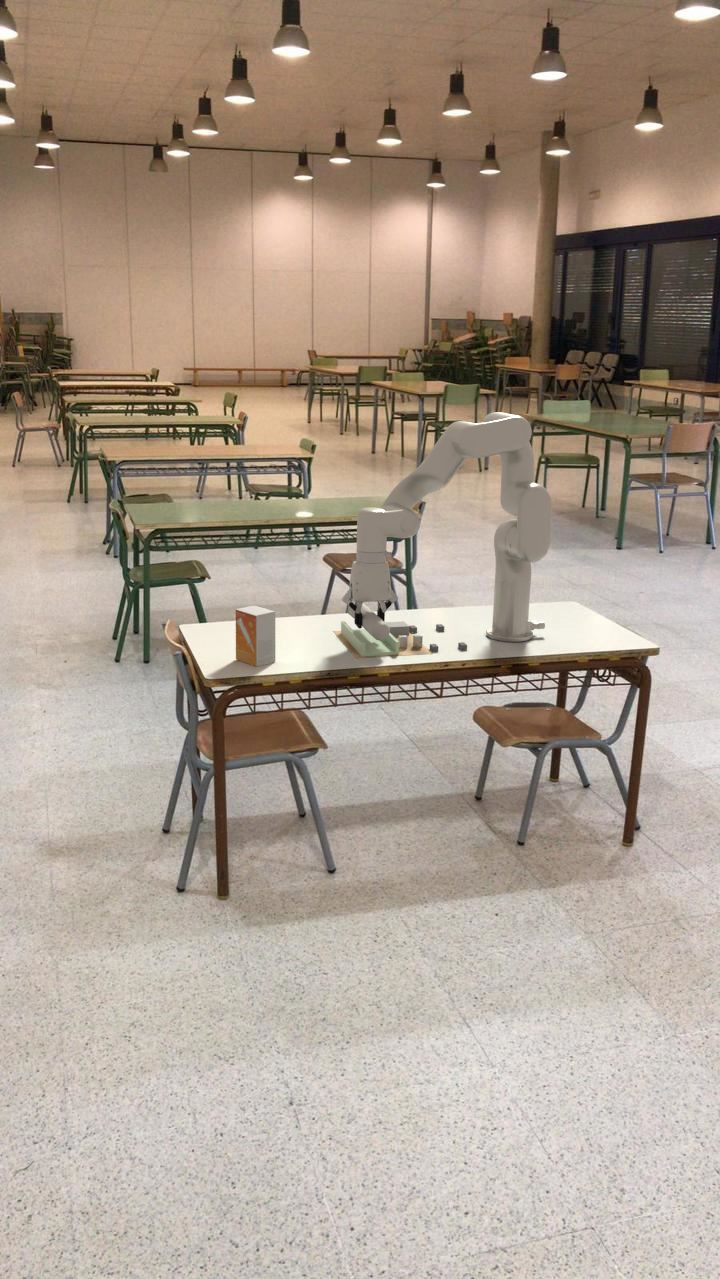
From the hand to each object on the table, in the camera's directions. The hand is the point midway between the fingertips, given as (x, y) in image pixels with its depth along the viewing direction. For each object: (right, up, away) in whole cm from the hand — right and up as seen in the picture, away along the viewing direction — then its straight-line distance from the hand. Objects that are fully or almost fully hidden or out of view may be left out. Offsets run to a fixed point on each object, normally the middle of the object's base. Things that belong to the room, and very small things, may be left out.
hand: (369, 625), depth 279 cm
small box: (-28, -9, -11) cm, 32 cm away
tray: (0, -4, +1) cm, 5 cm away
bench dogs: (+10, -5, -1) cm, 12 cm away
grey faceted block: (+7, -2, +11) cm, 13 cm away
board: (+3, -5, +3) cm, 7 cm away
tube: (0, -1, 0) cm, 1 cm away
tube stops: (+18, -5, +6) cm, 19 cm away
